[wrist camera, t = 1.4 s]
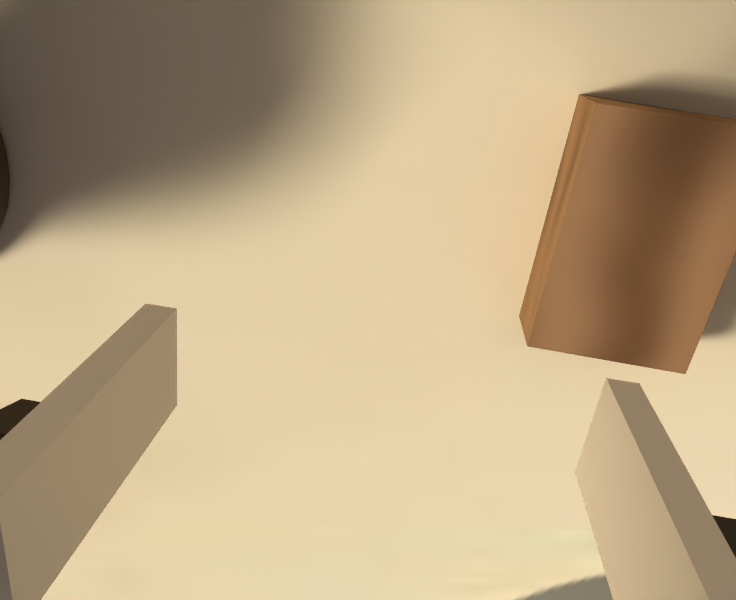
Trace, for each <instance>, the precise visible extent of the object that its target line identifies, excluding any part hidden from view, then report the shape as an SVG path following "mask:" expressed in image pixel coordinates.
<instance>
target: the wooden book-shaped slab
mask: <svg viewBox="0 0 736 600" xmlns="http://www.w3.org/2000/svg"><path fill="white" fill-rule="evenodd" d="M735 253H736V120H735V119H729V118H723V117H717V116H710V115H704V114H698V113H692V112H685V111H679V110H673V109H667V108H660V107H654V106H648V105H642V104H635V103H629V102H623V101H617V100H610V99H604V98H598V97H592V96H585V95H579V97H578V101H577V104H576V108H575V112H574V115H573V119H572V123H571V126H570V130H569V134H568V137H567V141H566V145H565V149H564V152H563V156H562V160H561V163H560V167H559V171H558V174H557V178H556V182H555V186H554V189H553V193H552V197H551V200H550V204H549V208H548V211H547V215H546V219H545V222H544V226H543V230H542V234H541V237H540V241H539V245H538V248H537V252H536V256H535V259H534V263H533V267H532V271H531V274H530V278H529V282H528V285H527V289H526V293H525V296H524V300H523V304H522V307H521V311H520V315H519V317H520V320H521V324H522V328H523V332H524V335H525V339H526V343H527V346H529V347H535V348H541V349H546V350H552V351H558V352H563V353H569V354H575V355H580V356H586V357H592V358H597V359H603V360H609V361H614V362H620V363H626V364H631V365H637V366H643V367H648V368H654V369H660V370H665V371H671V372H677V373H682V374H686V371H687V369H688V367H689V364H690V362H691V359H692V357H693V354H694V352H695V350H696V347H697V345H698V342H699V340H700V337H701V335H702V333H703V330H704V328H705V325H706V323H707V321H708V318H709V316H710V313H711V311H712V308H713V306H714V304H715V301H716V299H717V296H718V294H719V291H720V289H721V287H722V284H723V282H724V279H725V277H726V274H727V272H728V270H729V267H730V265H731V262H732V260H733V257H734V255H735Z"/></svg>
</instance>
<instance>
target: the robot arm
mask: <svg viewBox="0 0 736 600" xmlns="http://www.w3.org/2000/svg"><path fill="white" fill-rule="evenodd" d="M8 194H9V173H8V164H7V158H6V153H5V149H4V145H3V141H2V138H1V135H0V226H1V224H2V222H3V219H4V216H5V212H6V208H7V202H8ZM176 405H177V309H176V308H170V307H163V306H157V305H151V304H145V305H144V306H143V307H142V308H141V309H140V310H138V311H137V312H136V313H135V314H134V315H133V316H132V317H131V318H130V319H129V320H128V321H127V322H126V323H125V324H124V325H122V326H121V327H120V328H119V329H118V330H117V331H116V332H115V333H114V334H113V335H112V336H111V337H110V338H109V339H108V340H107V341H105V342H104V343H103V344H102V345H101V346H100V347H99V348H98V349H97V350H96V351H95V352H94V353H93V354H92V355H91V356H89V357H88V358H87V359H86V360H85V361H84V362H83V363H82V364H81V365H80V366H79V367H78V368H77V369H76V370H75V371H73V372H72V373H71V374H70V375H69V376H68V377H67V378H66V379H65V380H64V381H63V382H62V383H61V384H60V385H59V386H58V387H56V388H55V389H54V390H53V391H52V392H51V393H50V394H49V395H48V396H47V397H46V398H45V399H44V400H43V401H42V402H37V401H31V400H25V399H21V400H19V401H16V402H14V403H12V404H10V405H8V406H6V407H4V408H2V409H0V600H41V599H42V597H43V596H44V594H45V593H46V592H47V590H48V589H49V587H50V586H51V584H52V583H53V581H54V580H55V579H56V577H57V576H58V574H59V573H60V571H61V570H62V569H63V567H64V566H65V564H66V563H67V561H68V560H69V559H70V557H71V556H72V554H73V553H74V551H75V550H76V549H77V547H78V546H79V544H80V543H81V541H82V540H83V539H84V537H85V536H86V534H87V533H88V531H89V530H90V529H91V527H92V526H93V524H94V523H95V521H96V520H97V519H98V517H99V516H100V514H101V513H102V511H103V510H104V508H105V507H106V506H107V504H108V503H109V501H110V500H111V498H112V497H113V496H114V494H115V493H116V491H117V490H118V488H119V487H120V486H121V484H122V483H123V481H124V480H125V478H126V477H127V476H128V474H129V473H130V471H131V470H132V468H133V467H134V466H135V464H136V463H137V461H138V460H139V458H140V457H141V456H142V454H143V453H144V451H145V450H146V448H147V447H148V446H149V444H150V443H151V441H152V440H153V438H154V437H155V435H156V434H157V433H158V431H159V430H160V428H161V427H162V425H163V424H164V423H165V421H166V420H167V418H168V417H169V415H170V414H171V413H172V411H173V410H174V408H175V407H176ZM575 473H576V477H577V480H578V483H579V487H580V490H581V493H582V497H583V500H584V503H585V507H586V510H587V514H588V517H589V520H590V524H591V527H592V530H593V534H594V537H595V540H596V544H597V547H598V550H599V554H600V557H601V560H602V564H603V567H604V570H605V574H606V577H607V580H608V584H609V587H610V590H611V594H612V597H613V600H736V519H731V518H725V517H719V516H714V515H712V514H711V512H710V511H709V509H708V507H707V505H706V503H705V501H704V500H703V498H702V496H701V494H700V492H699V491H698V489H697V487H696V485H695V483H694V482H693V480H692V478H691V476H690V474H689V473H688V471H687V469H686V467H685V465H684V463H683V462H682V460H681V458H680V456H679V454H678V453H677V451H676V449H675V447H674V445H673V444H672V442H671V440H670V438H669V436H668V434H667V433H666V431H665V429H664V427H663V425H662V424H661V422H660V420H659V418H658V416H657V415H656V413H655V411H654V409H653V407H652V406H651V404H650V402H649V400H648V398H647V396H646V395H645V393H644V391H643V389H642V387H641V386H640V384H639V383H633V382H627V381H620V380H614V379H608V378H606V380H605V383H604V386H603V389H602V392H601V395H600V398H599V401H598V404H597V407H596V410H595V413H594V416H593V419H592V422H591V425H590V428H589V432H588V435H587V438H586V441H585V444H584V447H583V450H582V453H581V456H580V459H579V462H578V465H577V468H576V471H575Z"/></svg>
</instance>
